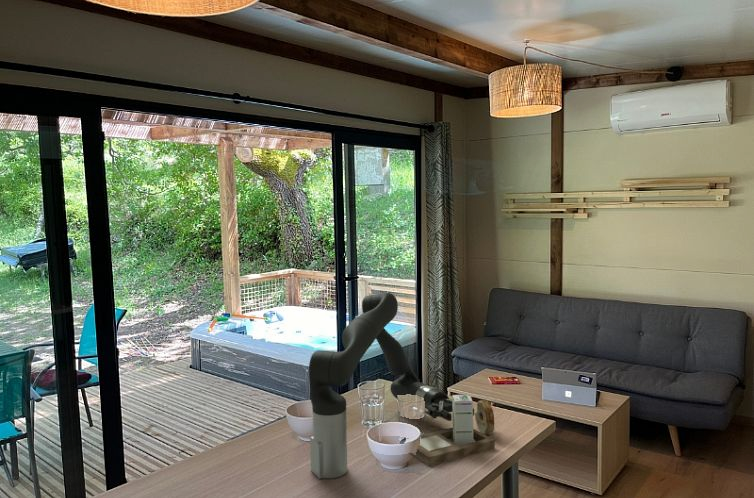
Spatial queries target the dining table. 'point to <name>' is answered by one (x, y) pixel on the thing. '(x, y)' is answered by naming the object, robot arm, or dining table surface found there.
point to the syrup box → (462, 419)
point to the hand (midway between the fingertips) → (462, 415)
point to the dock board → (450, 446)
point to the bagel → (484, 417)
